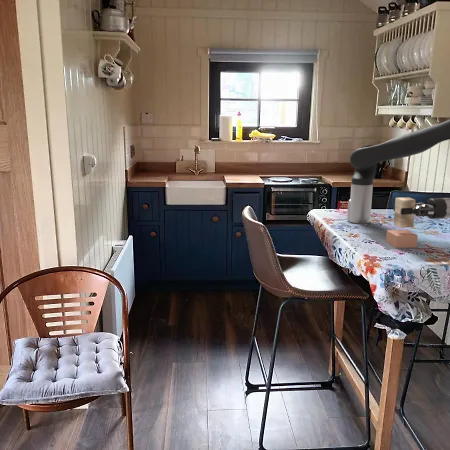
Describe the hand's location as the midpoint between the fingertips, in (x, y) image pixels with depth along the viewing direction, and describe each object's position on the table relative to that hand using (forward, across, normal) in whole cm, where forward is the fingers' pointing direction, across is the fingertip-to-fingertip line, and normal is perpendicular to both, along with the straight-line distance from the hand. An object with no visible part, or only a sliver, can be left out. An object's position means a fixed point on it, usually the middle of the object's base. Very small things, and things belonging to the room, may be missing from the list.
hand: (397, 209), depth 166 cm
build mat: (-2, -6, +14) cm, 15 cm away
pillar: (-3, 0, +6) cm, 7 cm away
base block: (-2, 0, +13) cm, 13 cm away
